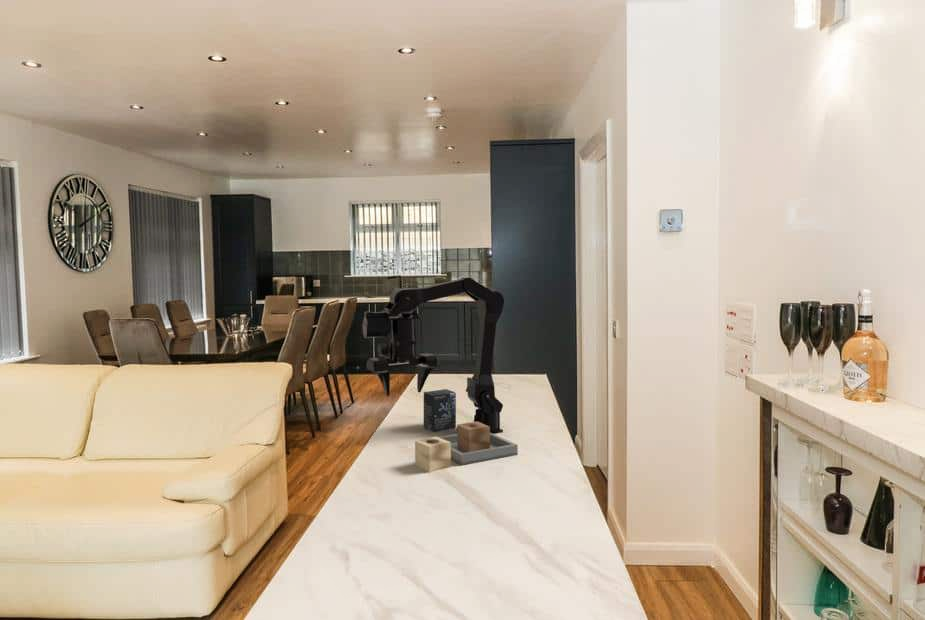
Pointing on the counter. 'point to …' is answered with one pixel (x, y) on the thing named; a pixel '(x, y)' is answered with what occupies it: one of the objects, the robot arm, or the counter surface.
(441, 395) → the box
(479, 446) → the block
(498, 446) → the tray
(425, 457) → the block
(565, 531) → the counter surface
